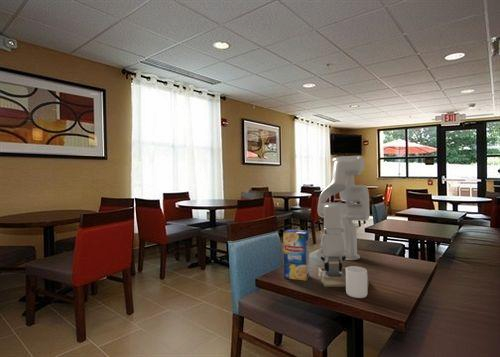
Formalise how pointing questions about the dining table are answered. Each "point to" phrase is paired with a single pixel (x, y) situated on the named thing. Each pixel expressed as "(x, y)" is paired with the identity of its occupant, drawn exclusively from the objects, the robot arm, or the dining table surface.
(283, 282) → the dining table surface
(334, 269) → the block
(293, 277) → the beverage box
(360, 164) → the robot arm
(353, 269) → the mug
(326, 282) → the box
